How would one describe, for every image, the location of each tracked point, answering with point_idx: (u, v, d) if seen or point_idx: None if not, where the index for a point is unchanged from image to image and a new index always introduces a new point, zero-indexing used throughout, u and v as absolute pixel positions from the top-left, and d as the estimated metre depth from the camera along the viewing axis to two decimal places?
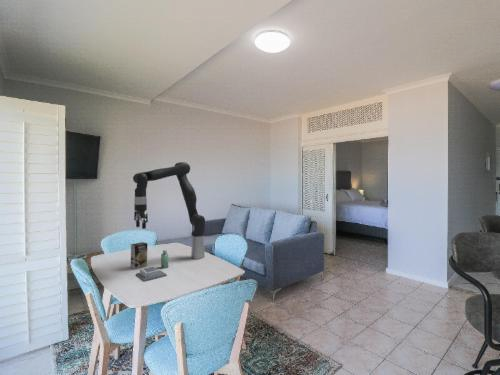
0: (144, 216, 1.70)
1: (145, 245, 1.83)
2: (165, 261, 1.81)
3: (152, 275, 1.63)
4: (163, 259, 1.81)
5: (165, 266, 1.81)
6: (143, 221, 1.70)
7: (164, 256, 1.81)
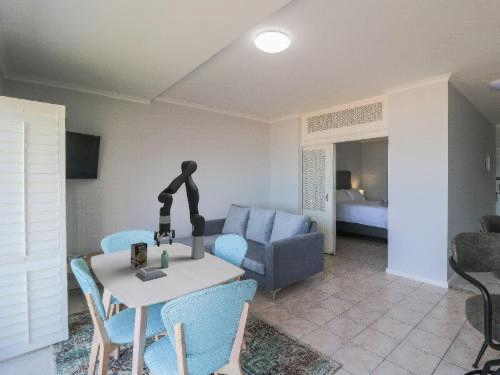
0: (174, 232, 1.87)
1: (145, 245, 1.83)
2: (165, 261, 1.81)
3: (152, 275, 1.63)
4: (163, 259, 1.81)
5: (165, 266, 1.81)
6: (174, 237, 1.86)
7: (164, 256, 1.81)
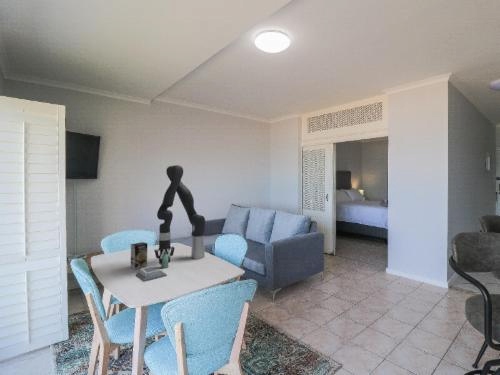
0: (173, 250, 1.87)
1: (145, 245, 1.83)
2: (165, 261, 1.81)
3: (152, 275, 1.63)
4: (163, 259, 1.81)
5: (165, 266, 1.81)
6: (172, 254, 1.85)
7: (164, 256, 1.81)
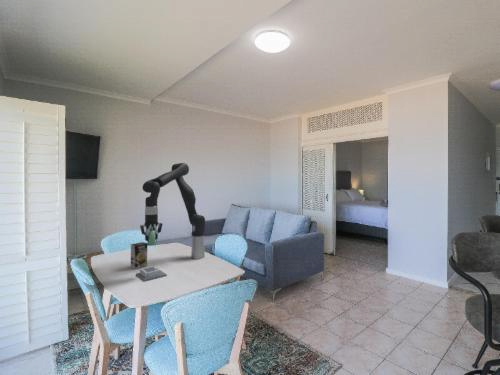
0: (161, 226, 1.71)
1: (145, 245, 1.83)
2: (152, 238, 1.65)
3: (152, 275, 1.63)
4: (149, 235, 1.65)
5: (152, 243, 1.65)
6: (159, 231, 1.69)
7: (150, 232, 1.65)
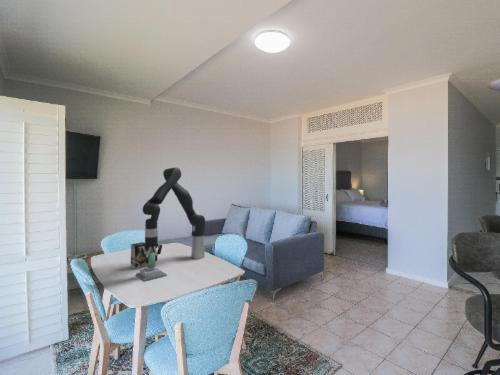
0: (161, 248, 1.71)
1: None
2: (151, 260, 1.66)
3: (152, 275, 1.63)
4: (149, 258, 1.65)
5: (151, 265, 1.66)
6: (159, 253, 1.70)
7: (150, 254, 1.65)
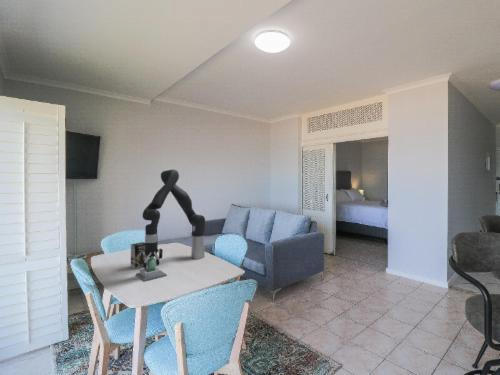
0: None
1: None
2: (152, 267, 1.66)
3: (152, 275, 1.63)
4: (149, 265, 1.66)
5: None
6: (161, 257, 1.71)
7: (151, 262, 1.66)
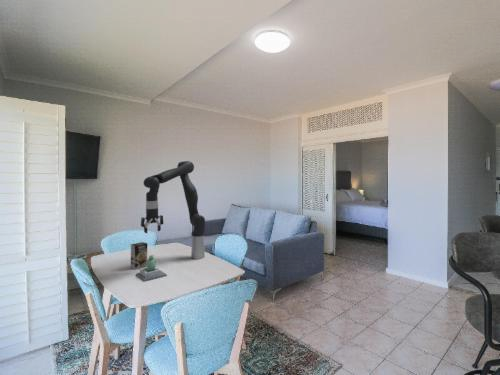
0: (162, 218, 1.79)
1: (145, 245, 1.83)
2: (152, 267, 1.66)
3: (152, 275, 1.63)
4: (149, 265, 1.66)
5: None
6: (162, 223, 1.79)
7: (151, 262, 1.66)
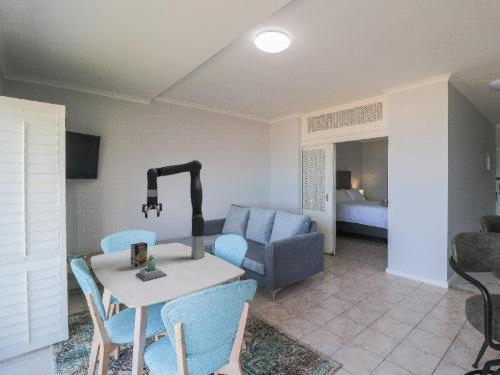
0: (161, 205, 1.99)
1: (145, 245, 1.83)
2: (152, 267, 1.66)
3: (152, 275, 1.63)
4: (149, 265, 1.66)
5: None
6: (161, 210, 1.99)
7: (151, 262, 1.66)
